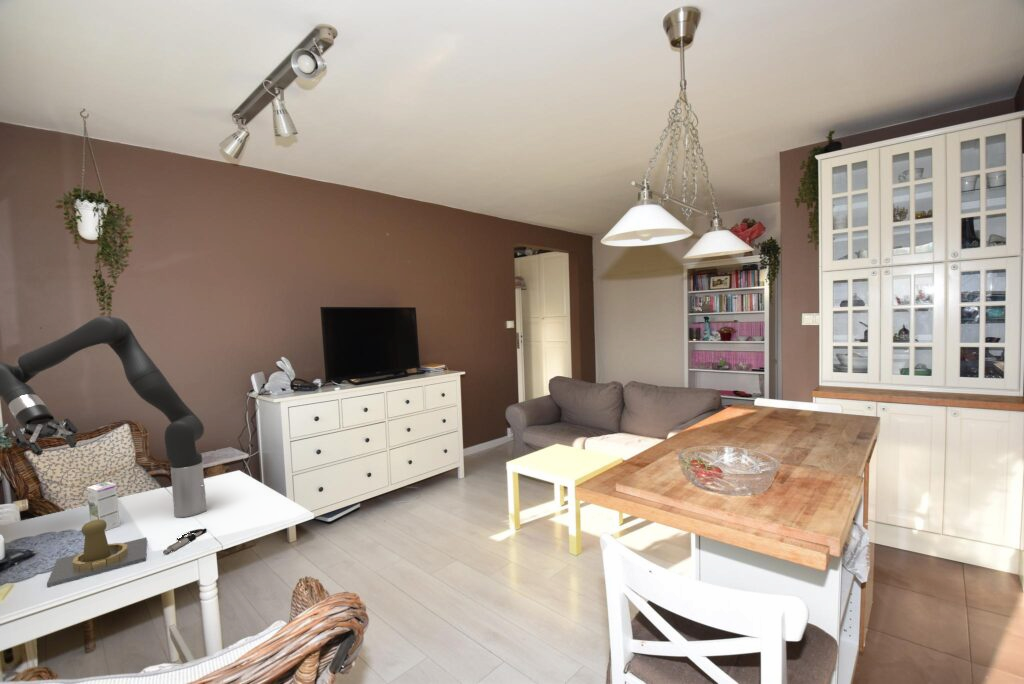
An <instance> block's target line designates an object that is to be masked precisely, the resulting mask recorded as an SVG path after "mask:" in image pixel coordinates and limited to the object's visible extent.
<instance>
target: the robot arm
mask: <svg viewBox="0 0 1024 684" xmlns="http://www.w3.org/2000/svg"><path fill="white" fill-rule="evenodd" d="M101 344H103V345H107V346H109V347H110V348H111V349H112V350H113V352H114V353H116V355H117V356H118V358H119V359H120V362H121V364H122V367H123V371H124V374H125V377H126V378H125V379H126V380H127V381H128V383H129V385H130V386H131V387H132V388H133V390H134V391H135V392H136V393H135V394H137V395H138V396H139V397H140V398H141V399H142V400H144V401H145V402H146V403H148V404H149V405H151V406H152V407H154V408H156V409H157V410H159V412H161V413H163V415H164V416H165V417H166V418H167V420H168V421H169V422H170V424H168V425H167V426H166V428H165V431H164V445H165V451H166V452H165V454H166V458H167V460H168V463H170V464H169V465H170V473H171V474H170V476H171V478H170V479H171V488H172V489H171V490H172V501H173V502H172V503H173V514H174V517H176V518H187V517H193V516H196V515H199V514H201V513H204V512H207V499H206V487H205V486H206V485H205V478H204V465H203V464H204V463H203V455H202V453H200V452H198V451H197V447H196V442H197V441H198V440H200V439H201V438H202V437H203V436H204V433H205V427H204V423H203V422H202V420H201V419H200V418H199V416H197V415H196V414H195V413H194V412H193V411H192V409H190V408H189V407H188V406H187V404H186V403H185V401H183V399H182V398H181V397H180V396H179V394H178V393H177V391H176V390H175V389H174V387H173V386H172V385H171V384H170V382H169V381H168V380H167V378H166V377H165V375H164V374H163V372H162V371H161V370H160V368H158V366H157V365H156V364H155V363H154V361H153V360H152V359H151V357H150V356H149V355H148V354H147V353H146V351H145V350H144V349H143V347H142V346H141V345H140V343H139V341H138V340H137V338H136V336H135V335H134V332H133V331H132V329H131V328H130V325H128V323H127V322H126V321H124V320H123V319H121V318H118V317H116V316H115V317H113V316H107V315H105V316H104V315H102V316H97V317H94V318H93V319H91V320H89V321H87V322H86V323H85V324H82V326H79V327H78V328H77V329H75V330H73V331H71V332H69V333H68V334H66V335H64V336H63V337H60V338H59V339H56V340H53V341H51V342H49V343H47V344H45V345H43V346H40V347H37V348H36V349H33V350H30V351H29V352H26V353H24V354H22V355H20V356H19V357H18V359H17V364H18V365H16V366H15V365H12V364H10V363H9V364H8V363H5V362H0V397H1V398H2V400H3V401H4V403H5V404H6V406H7V407H8V408H9V410H10V413H11V414H12V416H13V418H14V419H15V420H16V422H17V423H18V424H19V426H20V427H14V428H13V430H12V432H11V434H10V435H11V437H12V439H13V440H14V442H15V444H16V445H17V446H16V447H18V448H20V449H21V448H25V447H26V448H28V449H29V450H30V452H31V454H33V455H34V456H35V455H36V456H37V457H39V456H41V455H42V454H43V452H44V451H43V449H42V447H41V446H40V445H39V443H38V442H37V441H36V440H37V439H40V440H41V439H45V438H51V437H54V438H62V439H64V441H65V442H66V443H67V445H68V446H69V448H70V449H73V448H75V447H76V445H77V443H78V440H77V439H76V438H75V436H76V435H77V433H78V431H79V430H78V428H77V426H75V425H74V424H73V422H72V421H71V420H70V419H69V418H64V420H61V421H57V420H56V419H55V417H54V415H53V413H51V411H50V409H49V408H48V407H47V405H46V404H45V402H44V401H43V400H42V399H41V398H40V397H39V396H38V394H37V393H36V392H35V390H34V389H33V388H32V387H31V386H30V385H28V384H27V383H28V382H29V381H31V380H32V379H33V378H34V377H36V376H37V375H39V373H42V372H43V371H46V370H48V369H50V368H53V367H55V366H56V365H59V364H61V363H63V362H64V361H67V359H69V358H70V357H71V356H73V355H74V354H77V352H80V351H82V350H84V349H87V348H89V347H93V346H97V345H101ZM57 431H58V432H57ZM24 434H25V435H28V436H30V438H29V440H27V439H26V438H25V436H24Z"/></svg>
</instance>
